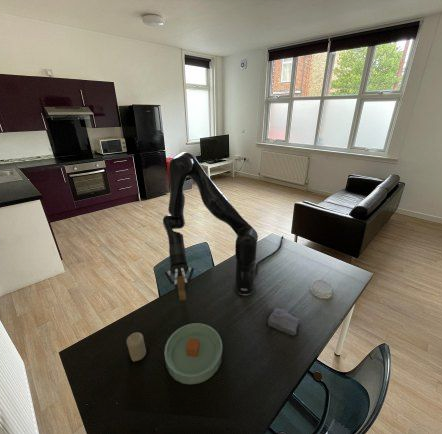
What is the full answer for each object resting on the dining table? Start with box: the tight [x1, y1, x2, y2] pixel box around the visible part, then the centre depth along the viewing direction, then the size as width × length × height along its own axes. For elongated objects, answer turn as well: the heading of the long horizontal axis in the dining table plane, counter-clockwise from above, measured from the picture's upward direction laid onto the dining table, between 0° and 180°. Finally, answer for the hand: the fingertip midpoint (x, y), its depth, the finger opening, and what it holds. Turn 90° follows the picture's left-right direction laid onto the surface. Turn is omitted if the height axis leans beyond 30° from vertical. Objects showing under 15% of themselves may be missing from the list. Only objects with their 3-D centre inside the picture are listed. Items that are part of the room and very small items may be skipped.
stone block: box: [267, 307, 300, 336], centre depth 100 cm, size 12×5×10 cm
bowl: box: [163, 322, 223, 385], centre depth 86 cm, size 20×20×5 cm
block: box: [186, 339, 200, 357], centre depth 87 cm, size 4×4×4 cm
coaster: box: [310, 279, 334, 300], centre depth 117 cm, size 10×10×4 cm
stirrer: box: [177, 275, 187, 302], centre depth 108 cm, size 3×3×12 cm
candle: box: [126, 331, 147, 363], centre depth 85 cm, size 6×6×10 cm
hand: (181, 292), depth 107 cm, fingers closed on stirrer, 3 cm apart
